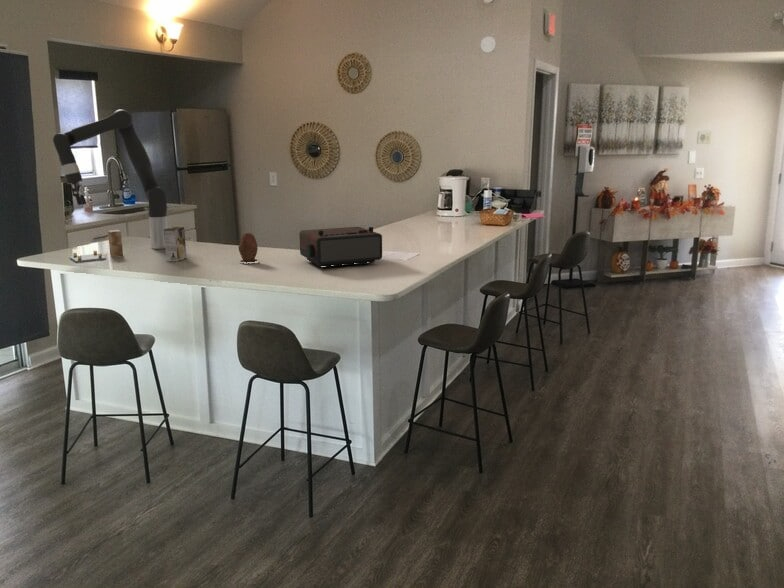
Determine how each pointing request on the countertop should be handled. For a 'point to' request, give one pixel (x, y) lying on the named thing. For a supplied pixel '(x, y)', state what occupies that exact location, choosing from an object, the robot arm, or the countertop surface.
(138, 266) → the countertop surface
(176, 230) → the coffee box
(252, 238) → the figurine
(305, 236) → the radio receiver
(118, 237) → the walnut block
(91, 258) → the dock
